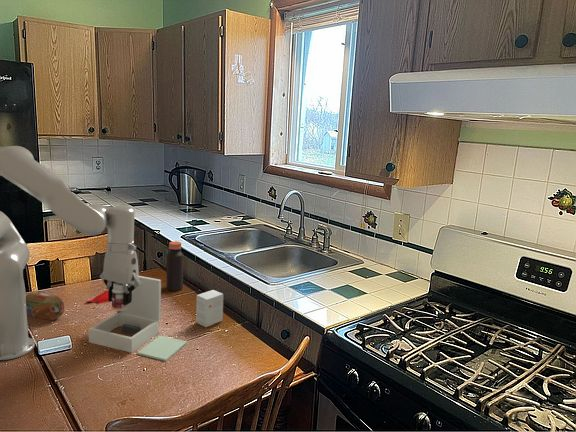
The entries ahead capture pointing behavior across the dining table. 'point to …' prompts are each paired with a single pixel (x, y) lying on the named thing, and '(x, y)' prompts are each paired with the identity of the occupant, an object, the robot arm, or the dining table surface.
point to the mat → (162, 348)
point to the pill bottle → (118, 297)
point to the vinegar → (174, 267)
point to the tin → (44, 306)
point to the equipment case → (132, 319)
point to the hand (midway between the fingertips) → (119, 301)
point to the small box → (209, 308)
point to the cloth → (100, 298)
